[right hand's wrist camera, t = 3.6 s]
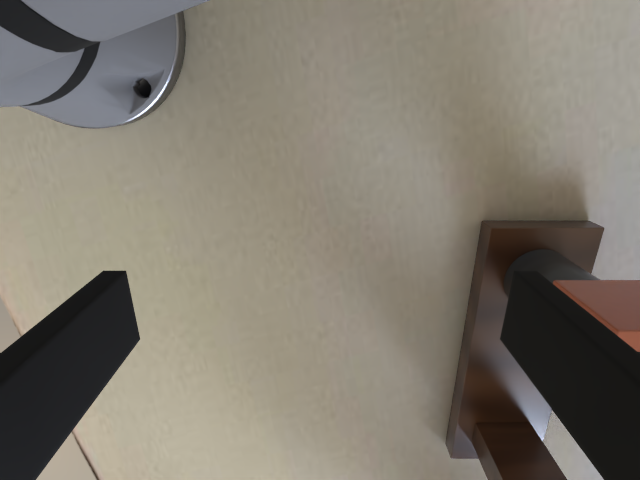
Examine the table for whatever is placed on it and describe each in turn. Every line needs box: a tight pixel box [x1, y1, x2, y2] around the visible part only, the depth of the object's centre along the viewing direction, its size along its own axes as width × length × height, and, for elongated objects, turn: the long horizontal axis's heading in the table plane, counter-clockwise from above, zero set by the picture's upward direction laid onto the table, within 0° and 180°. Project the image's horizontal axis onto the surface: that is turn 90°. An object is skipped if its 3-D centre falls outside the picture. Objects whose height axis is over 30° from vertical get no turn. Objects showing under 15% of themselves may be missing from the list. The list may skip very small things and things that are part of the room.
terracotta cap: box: [553, 280, 640, 352], centre depth 24 cm, size 8×8×6 cm
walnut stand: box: [446, 221, 604, 480], centre depth 34 cm, size 28×10×12 cm, turn 0°
